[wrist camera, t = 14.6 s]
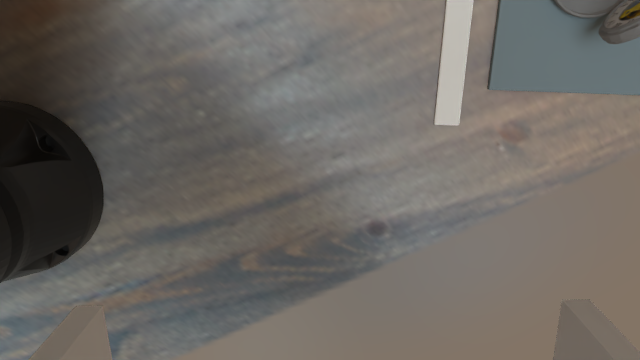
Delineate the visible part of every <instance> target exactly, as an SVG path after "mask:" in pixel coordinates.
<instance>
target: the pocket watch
mask: <svg viewBox="0 0 640 360" xmlns="http://www.w3.org/2000/svg"><path fill="white" fill-rule="evenodd" d="M554 1H555V3H556V4H557V5H558V6H559V7H560V8H561V9H562V10H563V11H565V12H567V13H568V14H570V15H573V16H575V17H582V18H595V17H600V16H604V15H606V14H608V16H607V17H606V18H605V20H604V21H603V23H602V25H601V27H600V28H599V35H600V37H601V38H602V39H603V40H604V41H606V42H607V43H609V44H620V43H625V42H628V41H631V40H633V39H636V38H638V37H640V0H554Z"/></svg>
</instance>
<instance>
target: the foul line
mask: <svg viewBox="0 0 640 360" xmlns="http://www.w3.org/2000/svg"><path fill="white" fill-rule="evenodd" d="M473 1H474V0H446V8H445V17H444V27H443V37H442V47H441V57H440V67H439V77H438V87H437V97H436V107H435V117H434V125H459V122H460V113H461V104H462V96H463V87H464V78H465V70H466V61H467V52H468V44H469V35H470V27H471V18H472V9H473Z"/></svg>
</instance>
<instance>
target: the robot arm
mask: <svg viewBox="0 0 640 360" xmlns="http://www.w3.org/2000/svg"><path fill="white" fill-rule="evenodd" d="M102 206H103V190H102V183H101V179H100V175H99V172H98V169H97V166H96V164H95V162H94V160H93V158H92V156H91V154H90V153H89V151H88V149H87V148H86V146H85V145H84V144H83V142H82V141H81V140H80V139H79V138H78V136H77V135H76V134H75V133H74V132H73V131H72V130H71V129H70V128H68V127H67V126H66V125H65V124H64V123H62V122H61V121H60V120H58V119H57V118H55V117H54V116H52V115H50V114H48V113H47V112H45V111H42V110H40V109H38V108H35V107H33V106H29V105H26V104H22V103H17V102H8V101H0V283H1V282H3V281H7V280H11V279H14V278H18V277H22V276H26V275H29V274H33V273H37V272H40V271H44V270H47V269H50V268H52V267H54V266H56V265H58V264H60V263H62V262H63V261H65V260H66V259H68V258H69V257H70V256H71V255H73V254H74V253H75V252H76V251H78V250H79V249H80V248H81V247H82V246H83V245H84V244H85V243H86V242H87V241H88V240H89V239H90V238H91V236H92V235H93V233H94V231H95V230H96V228H97V225H98V223H99V220H100V217H101V213H102ZM29 360H112V355H111V350H110V344H109V338H108V333H107V327H106V321H105V316H104V310H103V306H76V307H75V308H74V309H73V310H72V311H71V312H70V314H69V315H68V316H67V317H66V318H65V319H64V320H63V321H62V323H61V324H60V325H59V326H58V327H57V328H56V329H55V331H54V332H53V333H52V334H51V335H50V336H49V337H48V338H47V340H46V341H45V342H44V343H43V344H42V345H41V346H40V347H39V349H38V350H37V351H36V352H35V353H34V354H33V355H32V357H31V358H30V359H29ZM553 360H640V351H639V350H638V349H637V348H636V347H635V346H634V345H633V344H632V343H631V342H630V341H629V340H628V339H627V338H626V337H625V336H624V335H623V334H622V333H621V332H620V331H619V330H618V329H617V328H616V326H615V325H614V324H613V323H612V322H611V321H610V320H609V319H608V318H607V317H606V316H605V315H604V314H603V313H602V312H601V311H600V310H599V309H598V308H597V307H596V306H595V305H594V304H593V303H592V302H591V301H590V300H589V299H578V300H577V299H574V300H573V299H572V300H562V303H561V311H560V317H559V324H558V331H557V337H556V344H555V351H554V357H553Z"/></svg>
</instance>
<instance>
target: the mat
mask: <svg viewBox="0 0 640 360" xmlns="http://www.w3.org/2000/svg"><path fill="white" fill-rule="evenodd" d="M607 16H608V14H606V15H604V16H600V17H595V18H582V17H575V16H573V15H570V14H568V13H567V12H565V11H563V10H562V9H561V8H560V7H559V6H558V5H557V4H556V3H555V1H554V0H499V4H498V12H497V20H496V27H495V35H494V43H493V50H492V58H491V66H490V73H489V81H488V89H489V90H512V91H540V92H567V93H595V94H623V95H640V37H638V38H636V39H633V40H631V41H628V42H625V43H620V44H609V43H607V42H606V41H604V40H603V39H602V38H601V37H600V35H599V28H600V27H601V25H602V23H603V21H604V20H605V18H606V17H607Z"/></svg>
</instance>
